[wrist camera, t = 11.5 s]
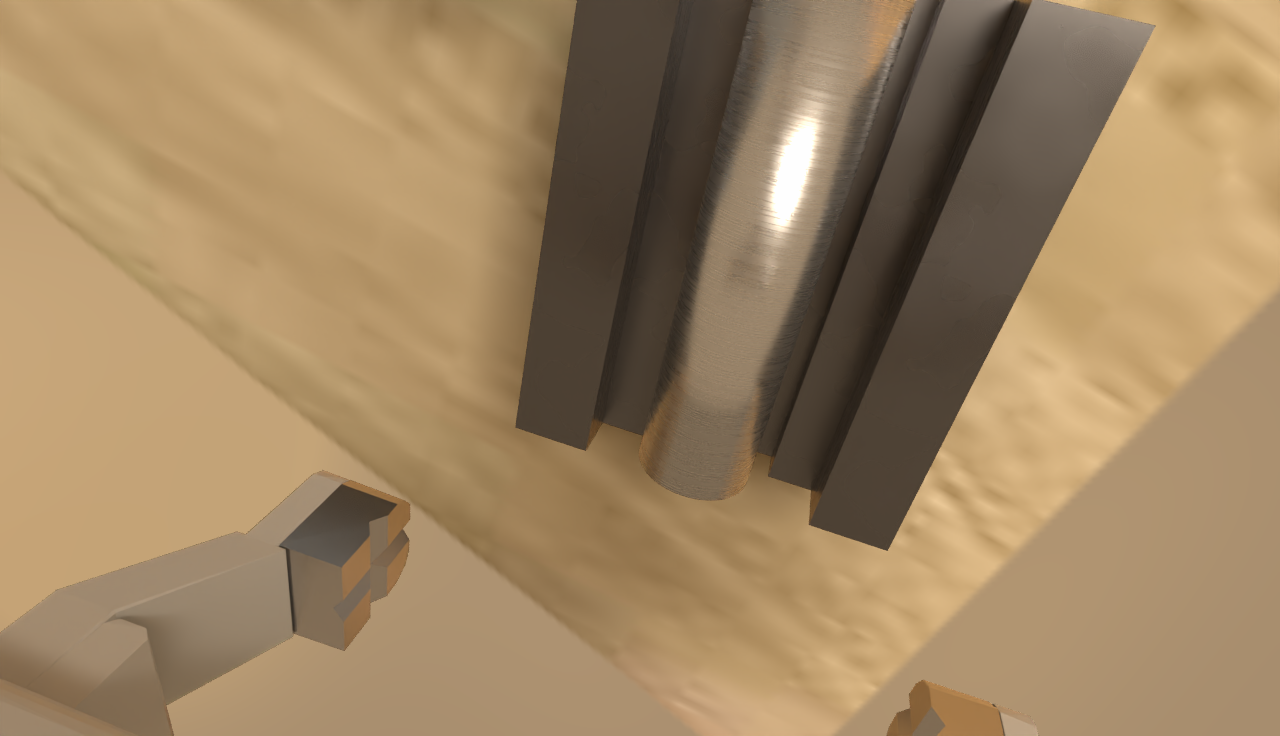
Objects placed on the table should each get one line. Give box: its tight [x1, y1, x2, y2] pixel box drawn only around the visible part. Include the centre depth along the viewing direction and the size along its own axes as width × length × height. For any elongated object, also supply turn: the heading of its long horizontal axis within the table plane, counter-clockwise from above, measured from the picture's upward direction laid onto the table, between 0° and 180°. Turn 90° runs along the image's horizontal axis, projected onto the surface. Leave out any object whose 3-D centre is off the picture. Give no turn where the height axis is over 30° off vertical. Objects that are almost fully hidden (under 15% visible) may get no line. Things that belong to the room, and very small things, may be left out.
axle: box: [639, 0, 917, 500], centre depth 16 cm, size 12×3×3 cm, turn 168°
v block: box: [516, 0, 1155, 551], centre depth 18 cm, size 12×10×6 cm
